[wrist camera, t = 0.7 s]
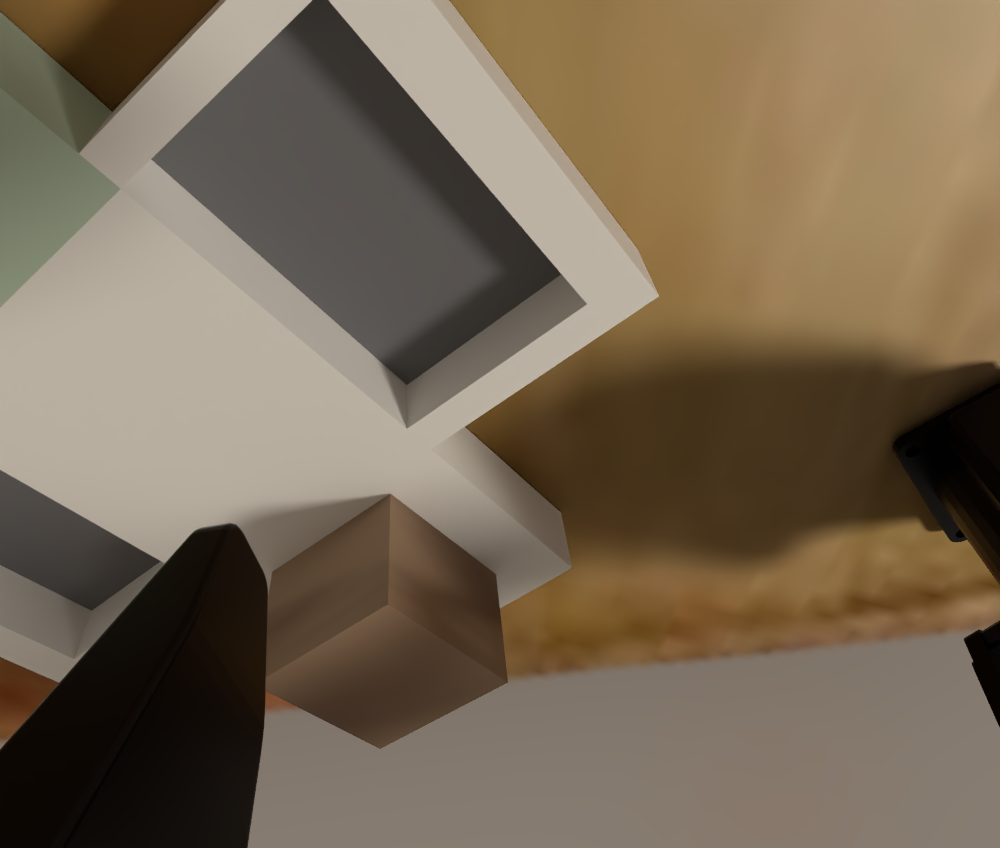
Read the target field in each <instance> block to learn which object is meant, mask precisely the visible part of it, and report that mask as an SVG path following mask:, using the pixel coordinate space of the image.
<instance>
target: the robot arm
mask: <svg viewBox="0 0 1000 848" xmlns="http://www.w3.org/2000/svg"><path fill="white" fill-rule="evenodd" d="M910 447H911V448H910ZM892 448H893V451H894V453H895V455H896V456H897V458H898V459H899V461H900V462H901V464H902V466H903V467H904V469H905V470H906V472H907V474H908V475H909V477H910V478H911V480H912V481H913V483H914V485H915V486H916V488H917V489H918V491H919V493H920V494H921V496H922V497H923V499H924V500H925V502H926V504H927V505H928V507H929V508H930V510H931V512H932V513H933V515H934V516H935V518H936V520H937V521H938V523H939V524H940V526H941V527H942V529H943V531H944V532H945V534H946V535H947V536H948V538H949V539H950V540H951V541H952V542H962V541H965V540H968V541H969V542H970V544H971V545H972V547H973V548H974V550H975V551H976V552H977V554H978V555H979V557H980V558H981V559H982V561H983V562H984V564H985V565H986V566H987V568H988V569H989V571H990V572H991V573H992V575H993V576H994V578H995V579H996V581H997V582H998V583H999V585H1000V383H999V384H997V385H995V386H993V387H991V388H989V389H988V390H986V391H984V392H982V393H980V394H978V395H976V396H975V397H973V398H971V399H969V400H967V401H965V402H963V403H962V404H960V405H958V406H956V407H954V408H952V409H950V410H949V411H947V412H945V413H943V414H941V415H939V416H937V417H936V418H934V419H932V420H930V421H928V422H926V423H924V424H923V425H921V426H919V427H917V428H915V429H913V430H911V431H910V432H908V433H906V434H904V435H902V436H901V437H899V438H898V439H897V440H896V441H895V442H894V444H893V447H892ZM267 614H268V587H267V581H266V577H265V574H264V572H263V569H262V567H261V566H260V564H259V562H258V560H257V558H256V556H255V554H254V552H253V550H252V548H251V546H250V545H249V543H248V541H247V539H246V537H245V535H244V533H243V531H242V530H241V529H240V527H238V526H237V525H236V524H233V523H226V524H220V525H214V526H208V527H202V528H199V529H197V530H195V531H194V532H192V533H191V534H190V535H189V536H188V538H187V539H186V540H185V541H184V542H183V543H182V544H181V546H180V547H179V548H178V549H177V550H176V551H175V552H174V553H173V555H172V556H171V557H170V558H169V559H168V560H167V561H166V562H165V564H164V565H163V566H162V567H161V568H160V569H159V570H158V572H157V573H156V574H155V575H154V576H153V577H152V578H151V579H150V581H149V582H148V583H147V584H146V585H145V586H144V587H143V589H142V590H141V591H140V592H139V593H138V594H137V595H136V596H135V598H134V599H133V600H132V601H131V602H130V603H129V604H128V605H127V607H126V608H125V609H124V610H123V611H122V612H121V613H120V615H119V616H118V617H117V618H116V619H115V620H114V621H113V622H112V624H111V625H110V626H109V627H108V628H107V629H106V630H105V631H104V633H103V634H102V635H101V636H100V637H99V638H98V639H97V641H96V642H95V643H94V644H93V645H92V646H91V647H90V648H89V650H88V651H87V652H86V653H85V654H84V655H83V656H82V657H81V659H80V660H79V661H78V662H77V663H76V664H75V665H74V667H73V668H72V669H71V670H70V671H69V672H68V673H67V674H66V676H65V677H64V678H63V679H62V680H61V681H60V682H59V683H58V685H57V686H56V687H55V688H54V689H53V690H52V691H51V693H50V694H49V695H48V696H47V697H46V698H45V699H44V700H43V702H42V703H41V704H40V705H39V706H38V707H37V708H36V710H35V711H34V712H33V713H32V714H31V715H30V716H29V717H28V719H27V720H26V721H25V722H24V723H23V724H22V725H21V726H20V728H19V729H18V730H17V731H16V732H15V733H14V734H13V736H12V737H11V738H10V739H9V740H8V741H7V742H6V743H5V745H4V746H3V747H2V748H1V749H0V848H247V847H248V840H249V832H250V825H251V819H252V812H253V805H254V798H255V791H256V783H257V777H258V770H259V763H260V756H261V749H262V748H261V747H262V740H263V730H264V717H265V690H266V652H267ZM964 641H965V644H966V646H967V648H968V650H969V653H970V655H971V657H972V659H973V662H972V666H973V668H974V670H975V673H976V675H977V677H978V680H979V682H980V684H981V686H982V689H983V691H984V693H985V695H986V698H987V700H988V702H989V704H990V707H991V709H992V711H993V713H994V716H995V718H996V720H997V722H998V725H999V727H1000V621H998V622H996V623H995V624H993V625H991V626H990V627H988V628H987V629H985V630H983V631H982V630H977V631H975V632H974V633H972V634H970V635H969V636H967V637H966V638H964Z"/></svg>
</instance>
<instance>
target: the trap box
mask: <svg viewBox="0 0 1000 848" xmlns="http://www.w3.org/2000/svg"><path fill="white" fill-rule="evenodd" d="M657 297H659V295H658V293H657V291H656V289H655V286H654V284H653V282H652V280H651V278H650V276H649V273H648V271H647V269H646V267H645V265H644V263H643V260H642V258H641V256H640V254H639V252H638V250H637V248H636V247H635V245H634V244H633V243H632V241H631V240H630V239H629V237H628V236H627V235H626V233H625V232H624V231H623V229H622V228H621V227H620V225H619V224H618V223H617V221H616V220H615V219H614V218H613V216H612V215H611V214H610V212H609V211H608V210H607V208H606V207H605V206H604V204H603V203H602V202H601V200H600V199H599V198H598V196H597V195H596V194H595V192H594V191H593V190H592V188H591V187H590V186H589V184H588V183H587V182H586V180H585V179H584V178H583V177H582V175H581V174H580V173H579V171H578V170H577V169H576V167H575V166H574V165H573V163H572V162H571V161H570V159H569V158H568V157H567V155H566V154H565V153H564V151H563V150H562V149H561V147H560V146H559V145H558V143H557V142H556V141H555V140H554V138H553V137H552V136H551V134H550V133H549V132H548V130H547V129H546V128H545V126H544V125H543V124H542V122H541V121H540V120H539V118H538V117H537V116H536V114H535V113H534V112H533V110H532V109H531V108H530V106H529V105H528V104H527V102H526V101H525V100H524V99H523V97H522V96H521V95H520V93H519V92H518V91H517V89H516V88H515V87H514V85H513V84H512V83H511V81H510V80H509V79H508V77H507V76H506V75H505V73H504V72H503V71H502V69H501V68H500V67H499V65H498V64H497V63H496V62H495V60H494V59H493V58H492V56H491V55H490V54H489V52H488V51H487V50H486V48H485V47H484V46H483V44H482V43H481V42H480V40H479V39H478V38H477V36H476V35H475V34H474V32H473V31H472V30H471V28H470V27H469V26H468V25H467V23H466V22H465V21H464V19H463V18H462V17H461V15H460V14H459V13H458V11H457V10H456V9H455V7H454V6H453V5H452V3H451V2H450V1H449V0H219V1H218V2H217V3H216V4H215V5H214V6H213V8H212V9H211V10H210V11H209V12H208V13H207V14H206V15H205V16H204V17H203V18H202V19H201V20H200V21H199V22H198V23H197V24H196V25H195V26H194V27H193V28H192V29H191V30H190V31H189V33H188V34H187V35H186V36H185V37H184V38H183V39H182V40H181V41H180V42H179V43H178V44H177V45H176V46H175V47H174V48H173V49H172V50H171V51H170V52H169V53H168V54H167V55H166V57H165V58H164V59H163V60H162V61H161V62H160V63H159V64H158V65H157V66H156V67H155V68H154V69H153V70H152V71H151V72H150V73H149V74H148V75H147V76H146V77H145V78H144V79H143V80H142V82H141V83H140V84H139V85H138V86H137V87H136V88H135V89H134V90H133V91H132V92H131V93H130V94H129V95H128V96H127V97H126V98H125V99H124V100H123V101H122V102H121V103H120V104H119V105H118V107H117V108H116V109H115V110H114V111H113V112H112V111H111V110H110V109H108V108H107V107H106V106H105V105H104V104H103V103H102V102H101V101H100V100H98V99H97V98H96V97H95V96H94V95H93V94H92V93H91V92H89V91H88V90H87V89H86V88H85V87H84V86H83V85H82V84H81V83H79V82H78V81H77V80H76V79H75V78H74V77H73V76H72V75H70V74H69V73H68V72H67V71H66V70H65V69H64V68H63V67H61V66H60V65H59V64H58V63H57V62H56V61H55V60H54V59H53V58H51V57H50V56H49V55H48V54H47V53H46V52H45V51H44V50H42V49H41V48H40V47H39V46H38V45H37V44H36V43H35V42H33V41H32V40H31V39H30V38H29V37H28V36H27V35H26V34H25V33H23V32H22V31H21V30H20V29H19V28H18V27H17V26H16V25H14V24H13V23H12V22H11V21H10V20H9V19H8V18H7V17H6V16H4V15H3V14H2V13H1V12H0V657H1V658H4V659H6V660H8V661H11V662H13V663H15V664H17V665H20V666H22V667H24V668H27V669H29V670H31V671H33V672H36V673H38V674H40V675H43V676H45V677H47V678H50V679H52V680H54V681H56V682H60V681H61V680H62V679H63V678H64V677H65V676H66V674H67V673H68V672H69V671H70V670H71V669H72V668H73V667H74V665H75V664H76V663H77V662H78V661H79V660H80V659H81V657H82V656H83V655H84V654H85V653H86V652H87V651H88V650H89V648H90V647H91V646H92V645H93V644H94V643H95V642H96V641H97V639H98V638H99V637H100V636H101V635H102V634H103V633H104V631H105V630H106V629H107V628H108V627H109V626H110V625H111V624H112V622H113V621H114V620H115V619H116V618H117V617H118V616H119V615H120V613H121V612H122V611H123V610H124V609H125V608H126V607H127V605H128V604H129V603H130V602H131V601H132V600H133V599H134V598H135V596H136V595H137V594H138V593H139V592H140V591H141V590H142V589H143V587H144V586H145V585H146V584H147V583H148V582H149V581H150V579H151V578H152V577H153V576H154V575H155V574H156V573H157V572H158V570H159V569H160V568H161V567H162V566H163V565H164V564H165V562H166V561H167V560H168V559H169V558H170V557H171V556H172V555H173V553H174V552H175V551H176V550H177V549H178V548H179V547H180V546H181V544H182V543H183V542H184V541H185V540H186V539H187V538H188V536H189V535H190V534H191V533H192V532H194V531H195V530H197V529H199V528H202V527H208V526H214V525H220V524H226V523H233V524H236V525H237V526H238V527H240V529H241V530H242V531H243V533H244V535H245V537H246V539H247V541H248V543H249V545H250V546H251V548H252V550H253V552H254V554H255V556H256V558H257V560H258V562H259V564H260V566H261V567H262V569H263V572H264V574H265V577H266V581H267V587H268V595H269V589H270V583H271V576H272V572H273V571H274V570H276V569H277V568H279V567H280V566H282V565H283V564H285V563H286V562H288V561H289V560H291V559H292V558H294V557H295V556H297V555H298V554H300V553H301V552H303V551H304V550H306V549H307V548H309V547H310V546H312V545H313V544H315V543H316V542H318V541H319V540H321V539H322V538H324V537H325V536H327V535H329V534H330V533H332V532H333V531H335V530H336V529H338V528H339V527H341V526H342V525H344V524H345V523H347V522H348V521H350V520H351V519H353V518H354V517H356V516H357V515H359V514H360V513H362V512H363V511H365V510H366V509H368V508H369V507H371V506H372V505H374V504H375V503H377V502H378V501H380V500H381V499H383V498H384V497H386V496H387V495H389V494H392V495H393V496H394V497H396V498H397V499H398V500H400V501H401V502H402V503H403V504H405V505H406V506H407V507H409V508H410V509H411V510H413V511H414V512H415V513H417V514H418V515H419V516H421V517H422V518H423V519H424V520H426V521H427V522H428V523H430V524H431V525H432V526H434V527H435V528H436V529H438V530H439V531H440V532H441V533H443V534H444V535H445V536H447V537H448V538H449V539H451V540H452V541H453V542H455V543H456V544H457V545H459V546H460V547H461V548H462V549H464V550H465V551H466V552H468V553H469V554H470V555H472V556H473V557H474V558H476V559H477V560H478V561H480V562H481V563H482V564H483V565H485V566H486V567H487V568H489V569H490V570H491V571H493V572H494V573H495V574H496V579H497V588H498V597H499V606H500V608H501V607H503V606H505V605H507V604H509V603H510V602H512V601H514V600H516V599H517V598H519V597H521V596H523V595H525V594H526V593H528V592H530V591H532V590H534V589H535V588H537V587H539V586H541V585H542V584H544V583H546V582H548V581H550V580H551V579H553V578H555V577H557V576H558V575H560V574H562V573H564V572H566V571H567V570H569V569H571V568H572V565H571V560H570V555H569V550H568V545H567V540H566V535H565V530H564V525H563V520H562V515H561V512H560V511H558V510H557V509H556V508H555V507H554V506H553V505H552V504H551V503H550V502H548V501H547V500H546V499H545V498H544V497H543V496H542V495H541V494H539V493H538V492H537V491H536V490H535V489H534V488H533V487H532V486H530V485H529V484H528V483H527V482H526V481H525V480H524V479H523V478H522V477H520V476H519V475H518V474H517V473H516V472H515V471H514V470H513V469H511V468H510V467H509V466H508V465H507V464H506V463H505V462H504V461H503V460H501V459H500V458H499V457H498V456H497V455H496V454H495V453H494V452H492V451H491V450H490V449H489V448H488V447H487V446H486V445H485V444H483V443H482V442H481V441H480V440H479V439H478V438H477V437H476V436H475V435H473V434H472V433H471V432H470V431H469V430H468V429H467V428H466V427H465V426H466V425H468V424H469V423H471V422H472V421H474V420H475V419H477V418H478V417H480V416H481V415H483V414H484V413H486V412H487V411H489V410H490V409H492V408H493V407H495V406H496V405H498V404H499V403H501V402H502V401H504V400H505V399H507V398H508V397H510V396H511V395H513V394H514V393H516V392H517V391H519V390H520V389H522V388H523V387H524V386H526V385H527V384H529V383H530V382H532V381H533V380H535V379H536V378H538V377H539V376H541V375H542V374H544V373H545V372H547V371H548V370H550V369H551V368H553V367H554V366H556V365H557V364H559V363H560V362H562V361H563V360H565V359H566V358H568V357H569V356H571V355H572V354H574V353H575V352H577V351H578V350H580V349H581V348H583V347H584V346H586V345H587V344H589V343H590V342H592V341H593V340H595V339H596V338H597V337H599V336H600V335H602V334H603V333H605V332H606V331H608V330H609V329H611V328H612V327H614V326H615V325H617V324H618V323H620V322H621V321H623V320H624V319H626V318H627V317H629V316H630V315H632V314H633V313H635V312H636V311H638V310H639V309H641V308H642V307H644V306H645V305H647V304H648V303H650V302H651V301H653V300H654V299H656V298H657Z"/></svg>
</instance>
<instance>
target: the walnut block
mask: <svg viewBox="0 0 1000 848" xmlns="http://www.w3.org/2000/svg"><path fill="white" fill-rule="evenodd" d="M506 683H508V680H507V671H506V661H505V652H504V643H503V634H502V625H501V615H500V606H499V597H498V588H497V579H496V574H495V573H494V572H493V571H491V570H490V569H489V568H487V567H486V566H485V565H483V564H482V563H481V562H480V561H478V560H477V559H476V558H474V557H473V556H472V555H470V554H469V553H468V552H466V551H465V550H464V549H462V548H461V547H460V546H459V545H457V544H456V543H455V542H453V541H452V540H451V539H449V538H448V537H447V536H445V535H444V534H443V533H441V532H440V531H439V530H438V529H436V528H435V527H434V526H432V525H431V524H430V523H428V522H427V521H426V520H424V519H423V518H422V517H421V516H419V515H418V514H417V513H415V512H414V511H413V510H411V509H410V508H409V507H407V506H406V505H405V504H403V503H402V502H401V501H400V500H398V499H397V498H396V497H394V496H393V495H392V494H389V495H387V496H386V497H384V498H383V499H381V500H380V501H378V502H377V503H375V504H374V505H372V506H371V507H369V508H368V509H366V510H365V511H363V512H362V513H360V514H359V515H357V516H356V517H354V518H353V519H351V520H350V521H348V522H347V523H345V524H344V525H342V526H341V527H339V528H338V529H336V530H335V531H333V532H332V533H330V534H329V535H327V536H325V537H324V538H322V539H321V540H319V541H318V542H316V543H315V544H313V545H312V546H310V547H309V548H307V549H306V550H304V551H303V552H301V553H300V554H298V555H297V556H295V557H294V558H292V559H291V560H289V561H288V562H286V563H285V564H283V565H282V566H280V567H279V568H277V569H276V570H274V571H273V572H272V576H271V583H270V589H269V595H268V614H267V652H266V690H265V691H267V692H269V693H271V694H273V695H275V696H277V697H279V698H281V699H283V700H285V701H287V702H289V703H291V704H293V705H295V706H297V707H299V708H301V709H303V710H305V711H307V712H309V713H311V714H313V715H315V716H317V717H319V718H321V719H323V720H324V721H326V722H329V723H330V724H333V725H334V726H336V727H338V728H340V729H342V730H344V731H346V732H348V733H350V734H352V735H354V736H356V737H358V738H360V739H362V740H364V741H366V742H368V743H370V744H372V745H374V746H376V747H378V748H382V747H384V746H386V745H388V744H390V743H392V742H394V741H396V740H398V739H400V738H402V737H404V736H406V735H407V734H409V733H411V732H413V731H415V730H417V729H419V728H421V727H423V726H425V725H427V724H428V723H431V722H432V721H434V720H436V719H438V718H440V717H442V716H444V715H446V714H448V713H450V712H452V711H454V710H455V709H457V708H459V707H461V706H463V705H465V704H467V703H469V702H471V701H473V700H475V699H477V698H479V697H481V696H483V695H484V694H486V693H488V692H490V691H492V690H494V689H496V688H498V687H500V686H502V685H504V684H506Z"/></svg>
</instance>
